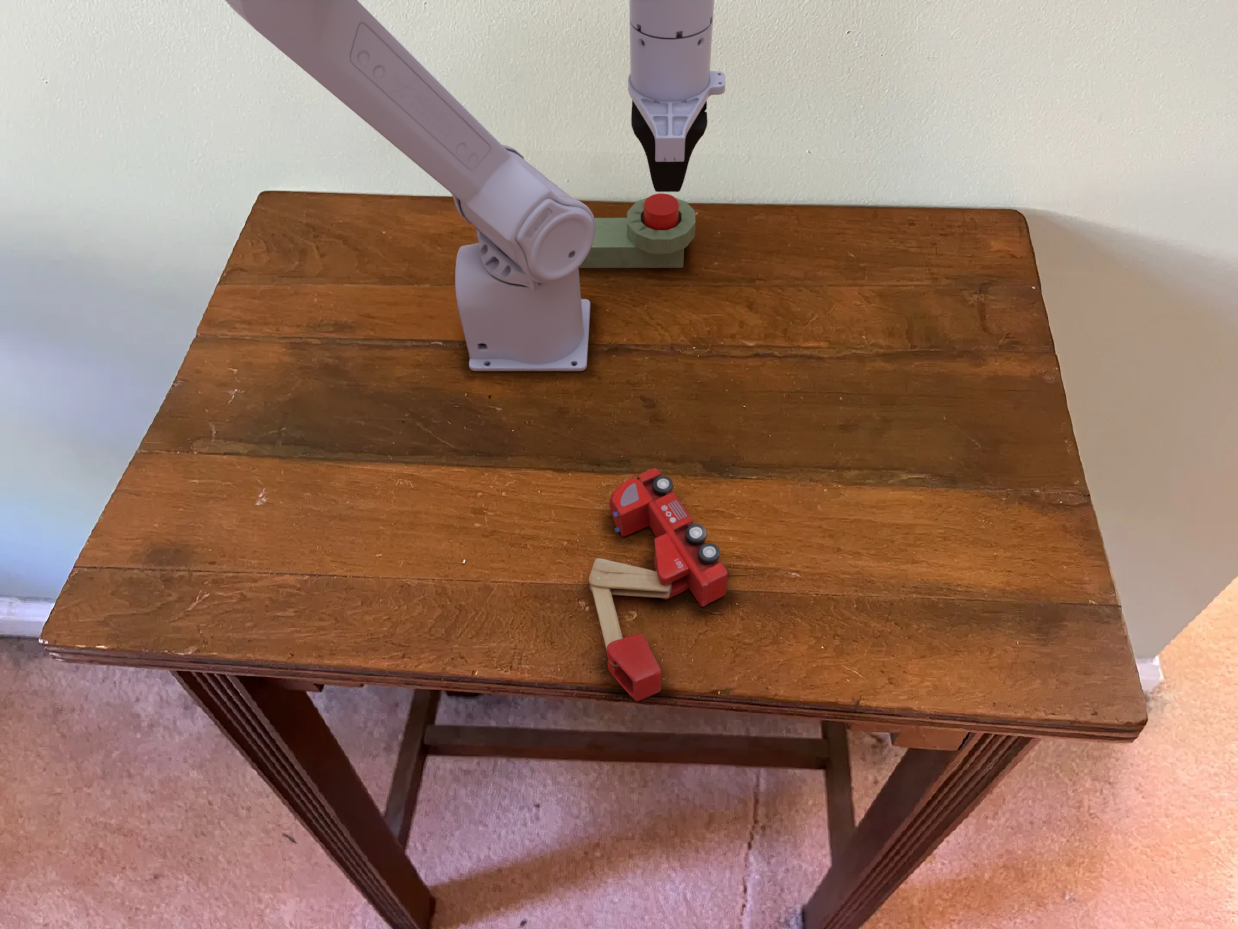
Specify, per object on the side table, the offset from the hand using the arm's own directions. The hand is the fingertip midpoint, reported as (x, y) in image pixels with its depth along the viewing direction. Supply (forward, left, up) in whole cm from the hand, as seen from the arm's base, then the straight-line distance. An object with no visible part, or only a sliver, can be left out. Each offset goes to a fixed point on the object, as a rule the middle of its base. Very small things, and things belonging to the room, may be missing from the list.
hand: (667, 186), depth 70 cm
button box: (-3, +2, -8) cm, 9 cm away
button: (0, +2, -5) cm, 5 cm away
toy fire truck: (+3, -30, -7) cm, 31 cm away
